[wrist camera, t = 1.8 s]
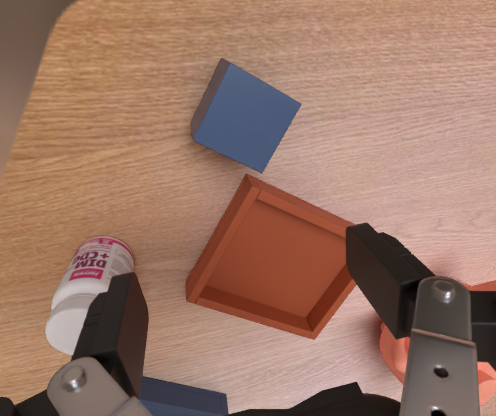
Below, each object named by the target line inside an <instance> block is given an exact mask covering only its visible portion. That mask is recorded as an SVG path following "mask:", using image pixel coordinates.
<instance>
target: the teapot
mask: <svg viewBox="0 0 496 416" xmlns="http://www.w3.org/2000/svg"><path fill="white" fill-rule="evenodd" d="M461 284H463V283H461ZM463 285H464V286H465V287H466V288H467V289H468V290H470V291H496V280H495V281H491V282H487V283H483V284H479V285H474V286H470V285H467V284H463ZM380 329H381V330H382V334H381V338H380V350H381V354H382V357H383V359H384V361H385V363H386V364H387V366H388V367H389V368H390V370H391V371H392V372H393V374H394V375H395V376H396V377H397V378H398V380H399V381H400V382H401V383H402V384H403V385H404V378H405V371H406V364H407V357H408V350H409V343H410V338H409V337H405V338H401V339H397V340H396V339H395V338H394V336H393V335H392V333H391V332H390V331H389V329H388V328H387V326H386V325H385V323H384V322H382V324H381V326H380ZM477 364H478V384H479V405H480V406H481V405H483V404H484V403H486V402H487V401H488V400H489V399H490V398H491V397H492V396H493V394H494V393H495V392H496V371H495V370H494V369H493V368H492V367H491V366H490V364H489V363H488V362H477Z"/></svg>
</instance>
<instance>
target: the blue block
mask: <svg viewBox="0 0 496 416" xmlns="http://www.w3.org/2000/svg"><path fill="white" fill-rule="evenodd" d="M300 106H301V103H299V102H297V101H296V100H294V99H292V98H290V97H289V96H287V95H285V94H284V93H282V92H280V91H278V90H277V89H275V88H273V87H272V86H270V85H268V84H266V83H265V82H263V81H261V80H260V79H258V78H256V77H254V76H253V75H251V74H249V73H248V72H246V71H244V70H242V69H241V68H239V67H237V66H236V65H234V64H232V63H230V62H229V61H227V60H225V59H223V58H221V60H220V62H219V64H218V66H217V68H216V70H215V72H214V74H213V76H212V79H211V81H210V83H209V85H208V87H207V89H206V91H205V93H204V95H203V97H202V100H201V102H200V104H199V106H198V108H197V110H196V112H195V114H194V116H193V119H192V121H191V129H192V138H193V141H195V142H197V143H199V144H201V145H204V146H206V147H208V148H210V149H212V150H214V151H216V152H218V153H220V154H222V155H225V156H227V157H229V158H231V159H233V160H235V161H237V162H239V163H241V164H243V165H246V166H248V167H250V168H252V169H254V170H256V171H258V172H260V173H262V172H263V171H264V169H265V167H266V165H267V164H268V162H269V160H270V158H271V157H272V155H273V153H274V151H275V150H276V148H277V146H278V144H279V143H280V141H281V139H282V138H283V136H284V134H285V132H286V131H287V129H288V127H289V125H290V124H291V122H292V120H293V118H294V117H295V115H296V113H297V111H298V110H299V108H300Z"/></svg>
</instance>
